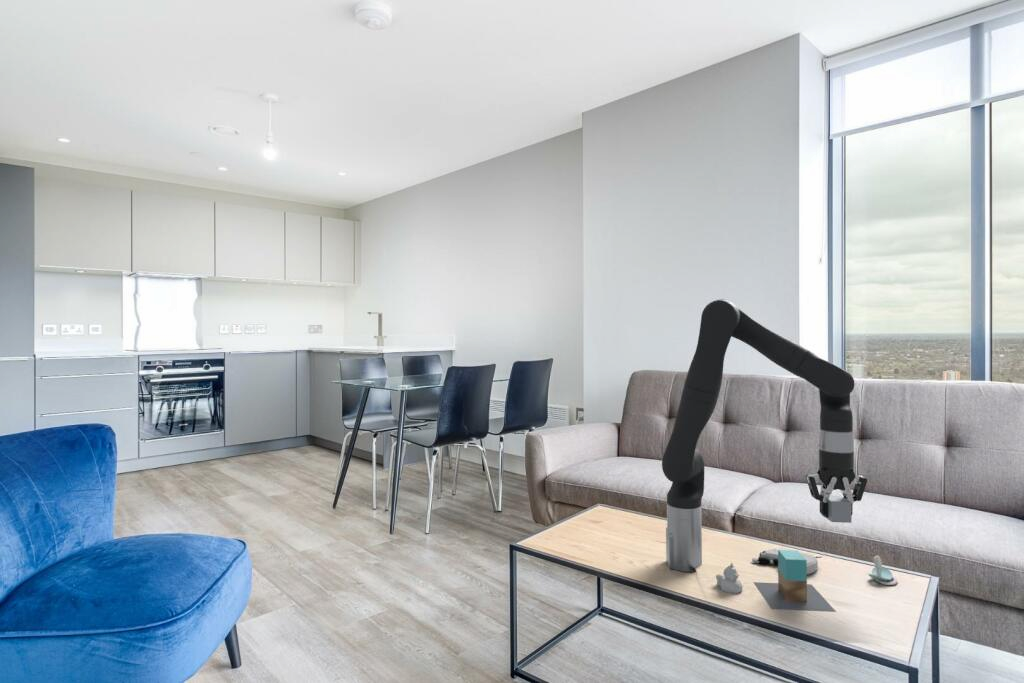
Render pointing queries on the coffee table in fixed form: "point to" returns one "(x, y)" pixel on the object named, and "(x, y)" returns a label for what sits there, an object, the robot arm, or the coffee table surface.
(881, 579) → the pacifier
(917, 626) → the coffee table surface
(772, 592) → the base plate
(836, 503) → the grey brick
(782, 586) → the base brick
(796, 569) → the teal brick
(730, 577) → the rubber duck
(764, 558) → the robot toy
